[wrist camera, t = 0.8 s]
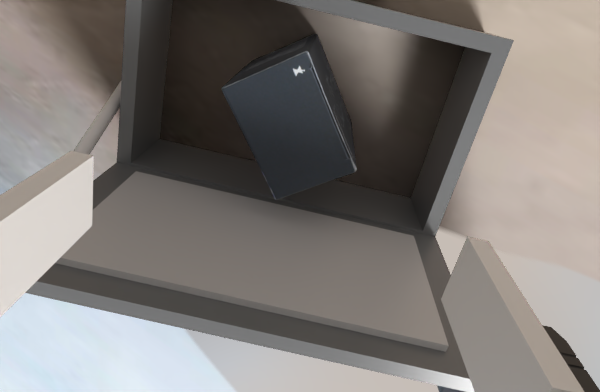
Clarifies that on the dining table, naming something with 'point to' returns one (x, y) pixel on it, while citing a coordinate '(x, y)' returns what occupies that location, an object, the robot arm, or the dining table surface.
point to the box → (293, 117)
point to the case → (275, 224)
